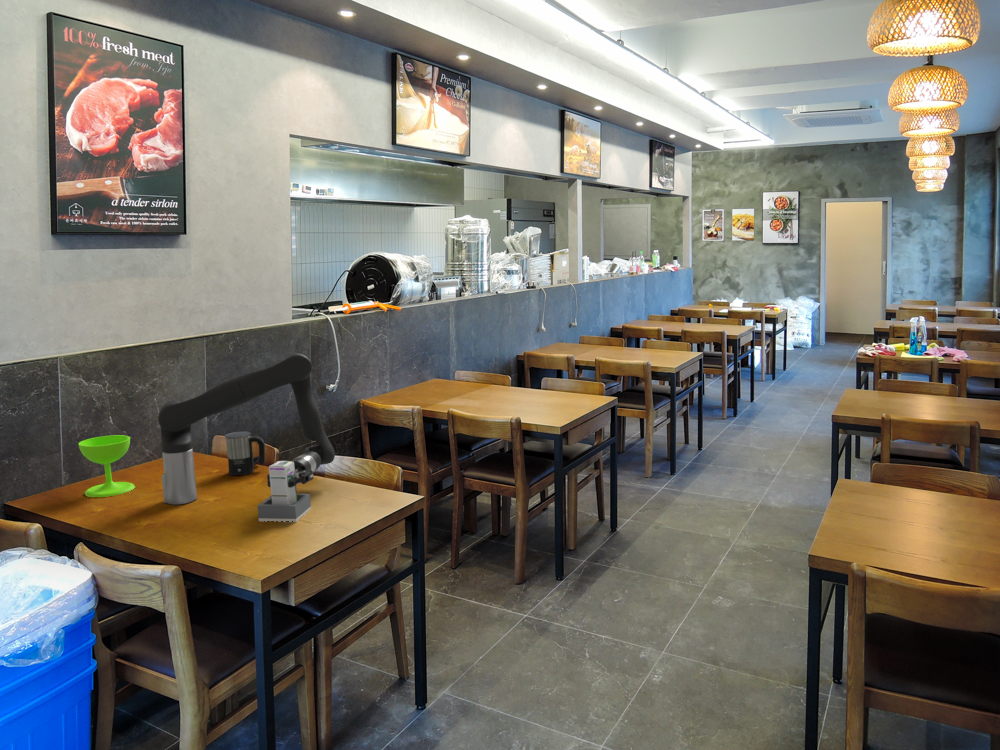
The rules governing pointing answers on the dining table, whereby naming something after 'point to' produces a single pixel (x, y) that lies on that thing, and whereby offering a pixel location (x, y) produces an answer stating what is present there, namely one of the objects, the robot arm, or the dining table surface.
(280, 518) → the socket box
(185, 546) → the dining table surface
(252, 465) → the milk frother
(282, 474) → the syrup box
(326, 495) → the dining table surface
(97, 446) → the wineglass
